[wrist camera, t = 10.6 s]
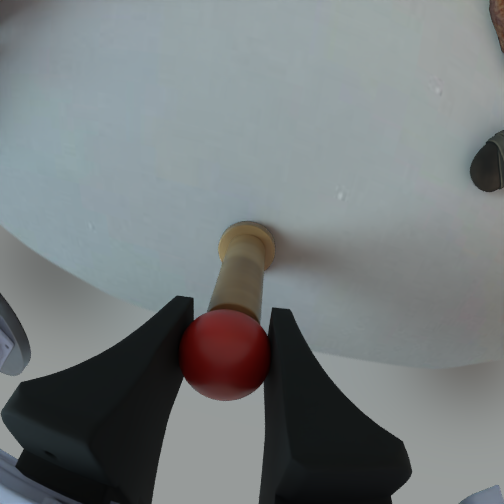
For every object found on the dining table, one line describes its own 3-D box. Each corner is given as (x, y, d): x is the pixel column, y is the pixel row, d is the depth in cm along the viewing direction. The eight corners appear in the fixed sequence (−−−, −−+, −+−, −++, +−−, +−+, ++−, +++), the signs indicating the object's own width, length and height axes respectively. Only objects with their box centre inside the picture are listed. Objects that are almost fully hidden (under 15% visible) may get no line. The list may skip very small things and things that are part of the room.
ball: (228, 367, 12) (218, 427, 9) (173, 319, 11) (147, 378, 9) (289, 332, 11) (291, 396, 8) (233, 275, 10) (218, 335, 8)
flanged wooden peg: (244, 280, 18) (229, 366, 12) (208, 243, 17) (174, 318, 11) (286, 250, 17) (291, 331, 11) (250, 209, 16) (234, 274, 10)
